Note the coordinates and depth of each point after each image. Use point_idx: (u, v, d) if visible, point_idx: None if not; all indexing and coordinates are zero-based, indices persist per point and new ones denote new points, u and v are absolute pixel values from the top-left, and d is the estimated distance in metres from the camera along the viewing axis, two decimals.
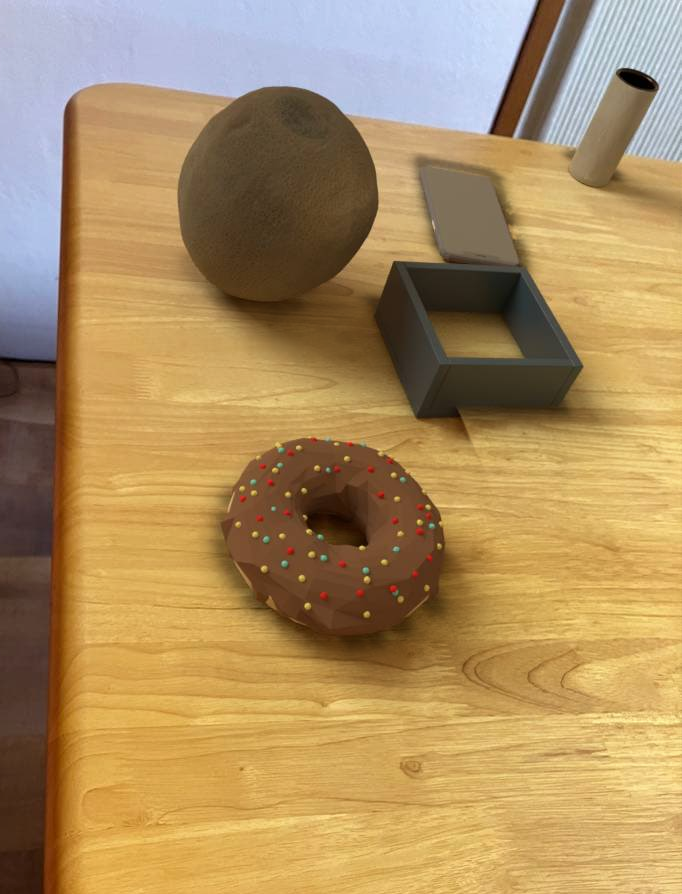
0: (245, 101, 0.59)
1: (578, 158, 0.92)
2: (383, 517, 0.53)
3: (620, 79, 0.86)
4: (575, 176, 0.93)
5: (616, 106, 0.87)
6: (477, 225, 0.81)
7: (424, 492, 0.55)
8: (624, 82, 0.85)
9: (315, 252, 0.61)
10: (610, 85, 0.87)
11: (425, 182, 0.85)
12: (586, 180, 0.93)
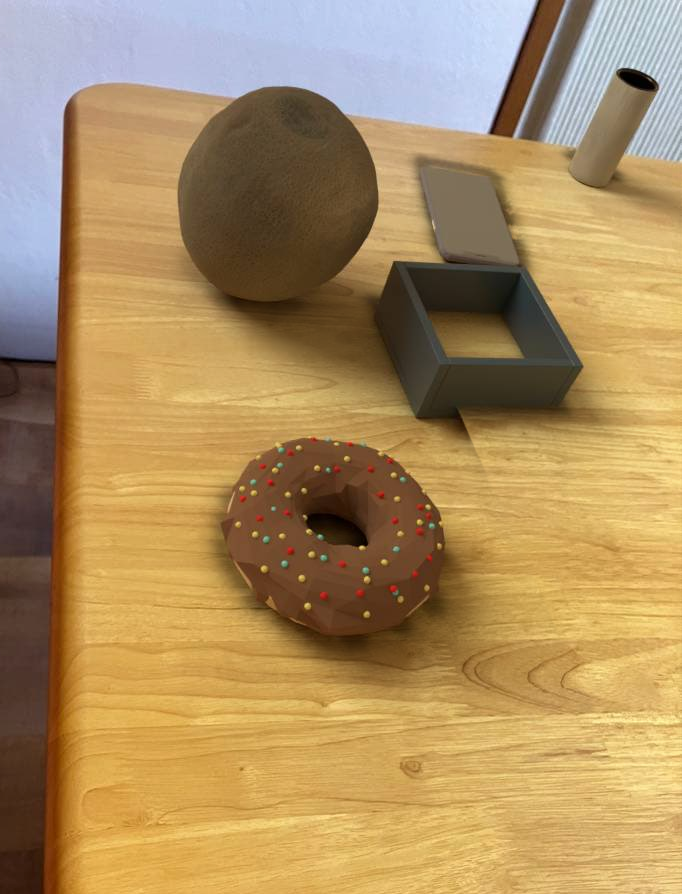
0: (245, 101, 0.59)
1: (578, 158, 0.92)
2: (383, 517, 0.53)
3: (621, 79, 0.86)
4: (575, 176, 0.93)
5: (616, 106, 0.87)
6: (477, 225, 0.81)
7: (424, 492, 0.55)
8: (624, 82, 0.85)
9: (315, 252, 0.61)
10: (610, 85, 0.87)
11: (425, 182, 0.85)
12: (586, 180, 0.93)
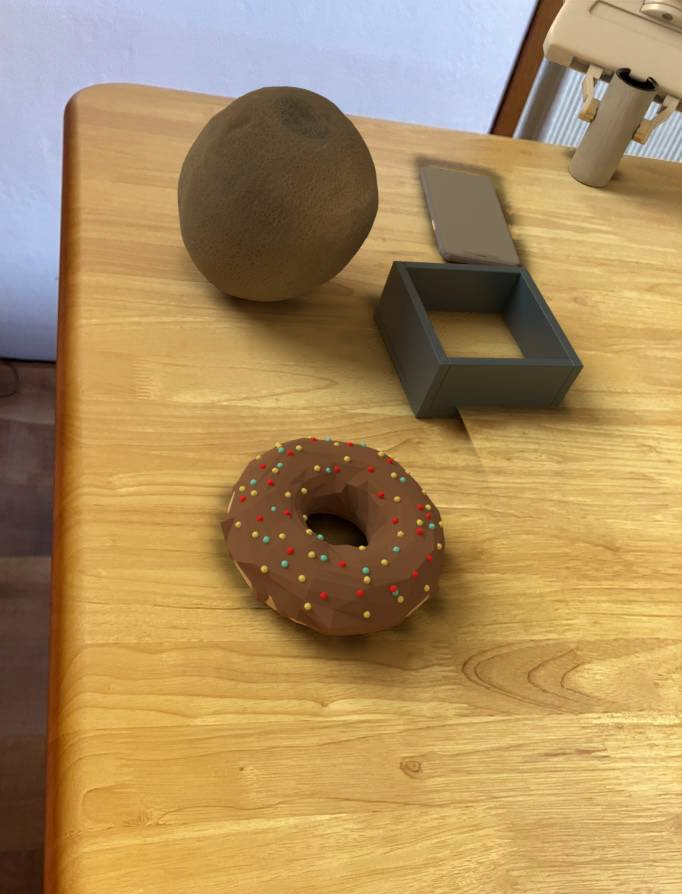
0: (245, 101, 0.59)
1: (578, 158, 0.92)
2: (383, 517, 0.53)
3: (620, 79, 0.86)
4: (575, 176, 0.93)
5: (616, 106, 0.87)
6: (477, 225, 0.81)
7: (424, 492, 0.55)
8: (624, 82, 0.85)
9: (315, 252, 0.61)
10: (610, 85, 0.87)
11: (425, 182, 0.85)
12: (586, 180, 0.93)
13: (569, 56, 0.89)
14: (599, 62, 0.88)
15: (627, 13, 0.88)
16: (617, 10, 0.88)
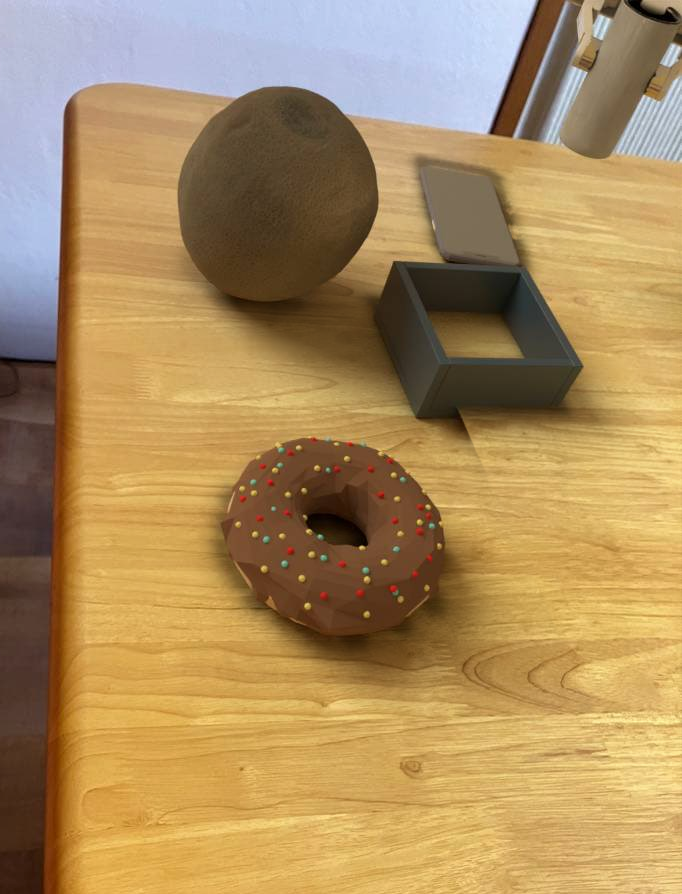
0: (245, 101, 0.59)
1: (571, 120, 0.69)
2: (383, 517, 0.53)
3: (630, 7, 0.62)
4: (567, 144, 0.70)
5: (623, 46, 0.64)
6: (477, 225, 0.81)
7: (424, 492, 0.55)
8: (634, 11, 0.62)
9: (315, 252, 0.61)
10: (615, 17, 0.64)
11: (425, 182, 0.85)
12: (582, 150, 0.69)
13: None
14: None
15: None
16: None
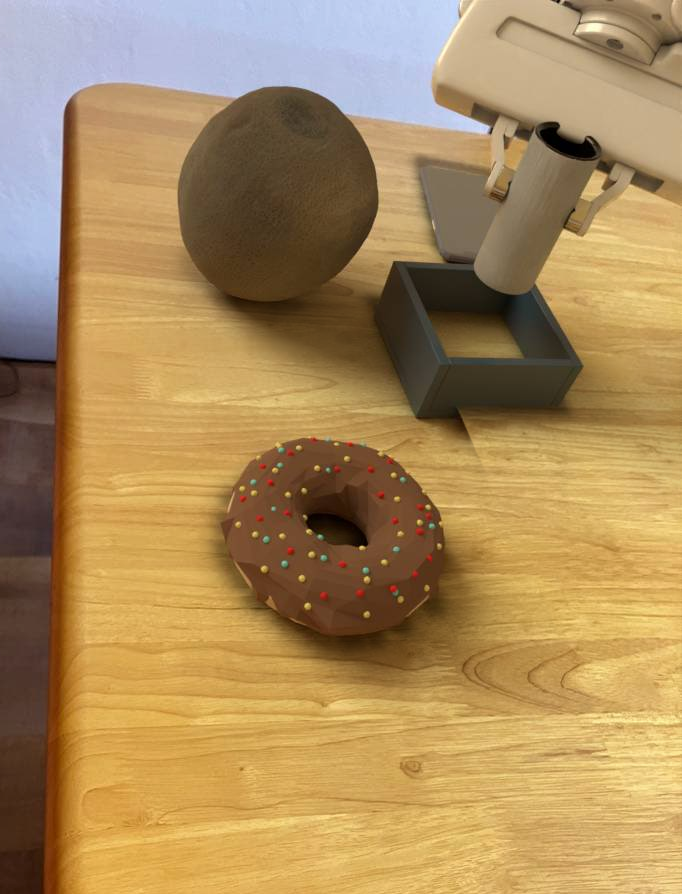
0: (245, 101, 0.59)
1: (485, 253, 0.61)
2: (383, 517, 0.53)
3: (541, 141, 0.55)
4: (482, 279, 0.62)
5: (536, 182, 0.56)
6: (477, 225, 0.81)
7: (424, 492, 0.55)
8: (546, 146, 0.54)
9: (315, 252, 0.61)
10: (527, 149, 0.56)
11: (425, 182, 0.85)
12: (498, 285, 0.62)
13: (467, 102, 0.58)
14: (512, 112, 0.57)
15: (554, 37, 0.57)
16: (539, 32, 0.57)
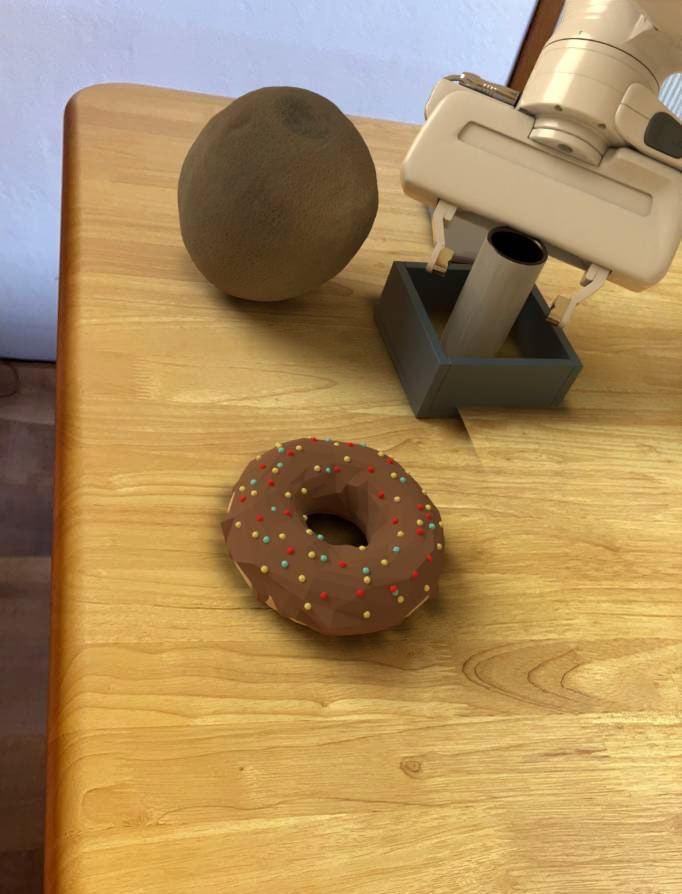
0: (245, 101, 0.59)
1: (446, 338, 0.67)
2: (383, 517, 0.53)
3: (492, 247, 0.61)
4: None
5: (488, 281, 0.62)
6: None
7: (424, 492, 0.55)
8: (496, 252, 0.60)
9: (315, 252, 0.61)
10: (480, 251, 0.62)
11: None
12: None
13: (432, 197, 0.64)
14: (472, 208, 0.63)
15: (511, 140, 0.62)
16: (497, 135, 0.62)
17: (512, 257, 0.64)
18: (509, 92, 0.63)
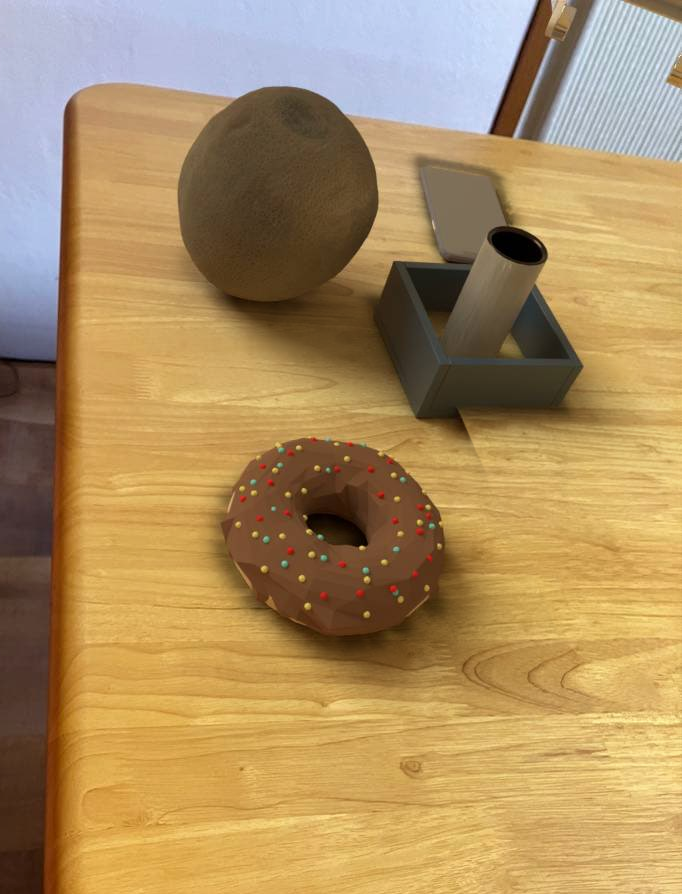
0: (245, 101, 0.59)
1: (446, 338, 0.67)
2: (383, 517, 0.53)
3: (492, 247, 0.61)
4: None
5: (488, 281, 0.62)
6: (477, 225, 0.81)
7: (424, 492, 0.55)
8: (496, 252, 0.60)
9: (315, 252, 0.61)
10: (480, 251, 0.62)
11: (425, 182, 0.85)
12: None
13: None
14: None
15: None
16: None
17: (512, 257, 0.64)
18: None
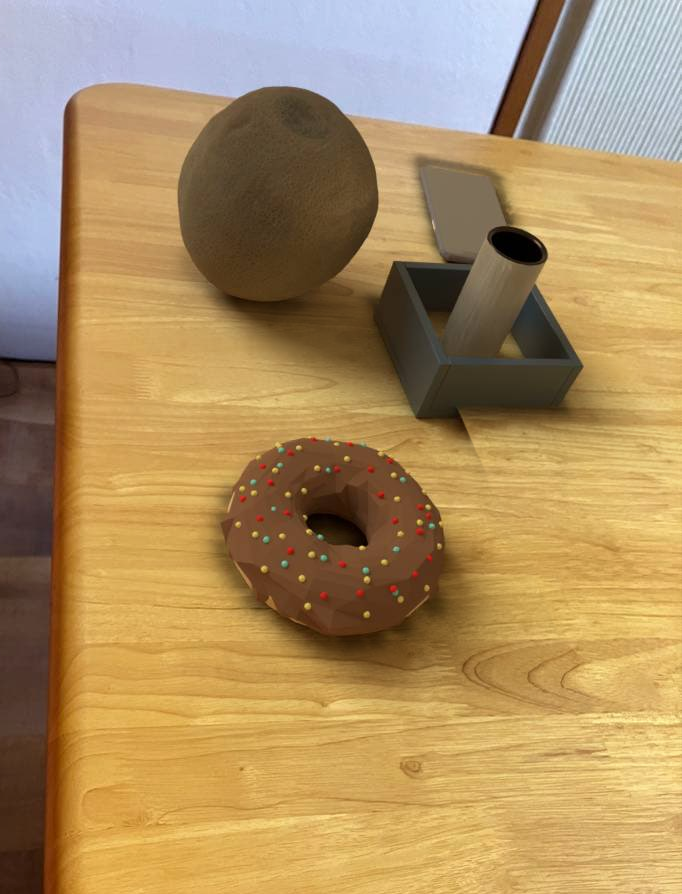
0: (245, 101, 0.59)
1: (446, 338, 0.67)
2: (383, 517, 0.53)
3: (492, 247, 0.61)
4: None
5: (488, 281, 0.62)
6: (477, 225, 0.81)
7: (424, 492, 0.55)
8: (496, 252, 0.60)
9: (315, 252, 0.61)
10: (480, 251, 0.62)
11: (425, 182, 0.85)
12: None
13: None
14: None
15: None
16: None
17: (512, 257, 0.64)
18: None
